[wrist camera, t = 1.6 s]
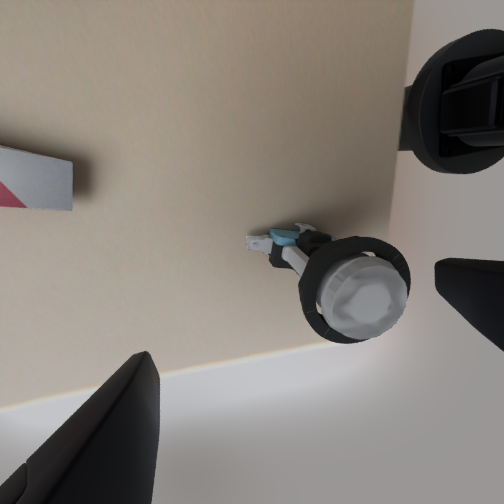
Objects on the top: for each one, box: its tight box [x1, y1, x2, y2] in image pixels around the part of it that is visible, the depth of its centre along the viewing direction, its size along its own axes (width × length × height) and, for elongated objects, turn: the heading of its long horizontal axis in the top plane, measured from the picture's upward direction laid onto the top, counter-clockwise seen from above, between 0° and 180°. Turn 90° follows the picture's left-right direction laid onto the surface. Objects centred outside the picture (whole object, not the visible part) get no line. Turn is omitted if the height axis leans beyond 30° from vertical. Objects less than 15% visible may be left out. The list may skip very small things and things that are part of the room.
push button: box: [246, 223, 411, 344], centre depth 17 cm, size 7×5×10 cm
